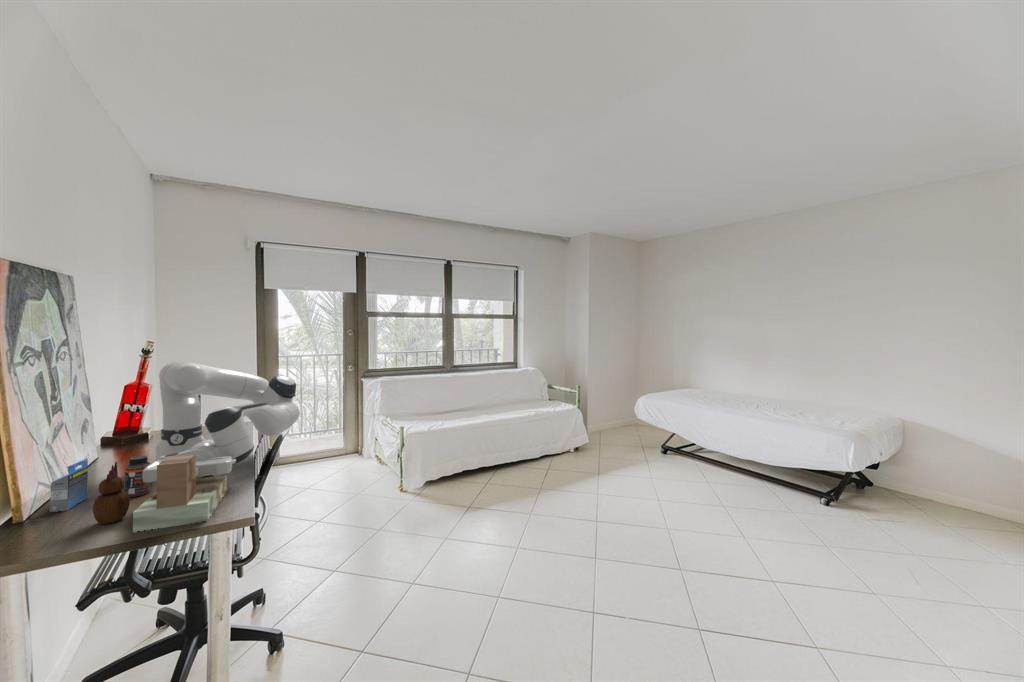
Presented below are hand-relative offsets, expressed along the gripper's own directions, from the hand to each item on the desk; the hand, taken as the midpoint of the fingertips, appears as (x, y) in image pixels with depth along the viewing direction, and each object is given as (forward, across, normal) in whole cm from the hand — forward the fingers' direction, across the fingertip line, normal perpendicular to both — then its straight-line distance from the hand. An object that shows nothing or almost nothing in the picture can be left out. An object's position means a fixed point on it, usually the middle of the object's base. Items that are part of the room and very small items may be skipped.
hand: (182, 477), depth 108 cm
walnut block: (+4, 0, -5) cm, 6 cm away
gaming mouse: (-21, 0, -11) cm, 24 cm away
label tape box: (-20, +30, -10) cm, 38 cm away
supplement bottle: (-23, +16, -10) cm, 30 cm away
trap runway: (-3, 0, -10) cm, 11 cm away
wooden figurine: (-2, +15, -10) cm, 18 cm away
